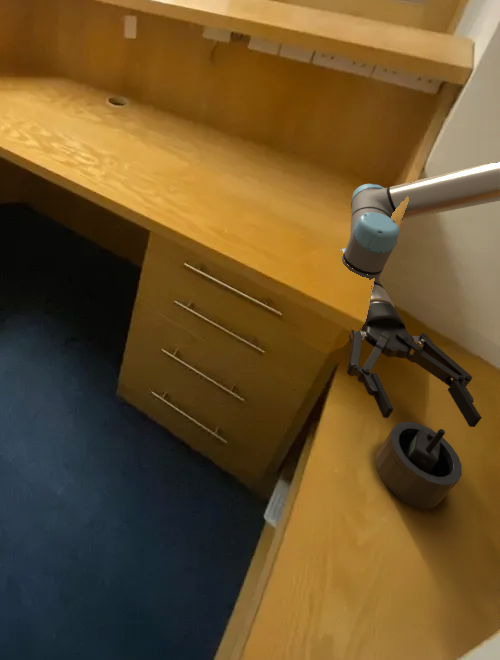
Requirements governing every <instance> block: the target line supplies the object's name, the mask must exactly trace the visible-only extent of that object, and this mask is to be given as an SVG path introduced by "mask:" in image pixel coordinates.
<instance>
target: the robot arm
mask: <svg viewBox="0 0 500 660" xmlns="http://www.w3.org/2000/svg"><path fill="white" fill-rule="evenodd" d="M489 163H490V164H486V163H483V165H482V164H479V166H478V165H473V166H471V167H470V166H469V167H466V168H462V169H459V170H454V171H450V172H445V173H442V174H437V175H434V176H430V177H424V178H421V179H417V180H414V181H415V182H413V181H411V182H412V183H408V182H404V183H401V184H397V185H392V186H388V187H383V186H382V185H379V184H375V183H365V184H362V185H360V186H358V187H356V189H354V191H353V193H352V198H351V201H350V209H351V218H350V231H349V232H350V234H349V240H348V242H347V244H346V247H344V248H341V249H342V251H343V253H344V254H343V256H342V262H343V264H344V265H345V266H346V267H347V268H348V269H349V270H350V271H352V272H354V273H356V274H358V275H360V276H362V277H366V278H369V280H371V279H373V278H375V281H374V287H373V290H372V296H371V300H370V306H369V310H368V315H367V319H366V322H365V324H364V325H363V327H362V329H361V328H360V329H359V331H358V332H356V333H355V331H354V330H352V329H351V330H350V332H349V334H348V339H349V342H350V348H349V356H348V360H347V361H348V362H347V368H346V373H347V375H349V376H350V377H354V376H355V377H357V381H358V382H359V383H361V384H363V386H364V388H365V390H366V392H367V394H368V395H369V396H370V397H371V396H372V397H373V398H374V401H375V403H376V406H377V407H378V409H379V411H380V413H381V416H382V418H384V419H389V417H391V414H392V412H393V411H394V409H395V407H394V405H393V404H392V402H391V400H390V397H389V396H388V394H387V391H386V389H385V388H384V385H383V383H382V381H381V379H380V378H379V375H378V373H377V372H371V371H372V370H373V368H374V366H375V364H377V363H376V362H377V360H378V359H379V357H380V355H381V354H382V355H383V356H386V358H393V357H394V358H398V359H406V360H407V361H409V362H410V363H415V364H417V365H418V366H420V367H421V368H422V369H423V370H425V371H427V372H428V373H430V374H431V375H432V376H434V377H435V378H437V379H438V380H440V381H441V382H442V383H444V384H445V385H447V386H448V389H447V392H448V393H449V394H450V396H451V398H452V400H453V401H454V403H455V405H456V406H457V408H458V410H459V412H460V413H461V415H462V417H463V419H464V420H465V421H466V423H467V425H468V427H470V428H475V427H476V426H477V425H478V423H479V422H480V421H481V420H482V416H481V414H480V413H479V411H478V409H477V408H476V406H475V405H474V396H473V395H472V394H471V392H470V391H469V390H468V388H467V386H469V383H470V382H471V381H472V379H473V376H472V375H471V374H470V373H469V372H468V371H466V370H465V369H464V368H463V367H462V366H461V365H460V364H458V363H457V362H456V361H455V360H454V359H453V358H451V357H450V356H449V355H448V354H447V353H446V352H445V351H443V350H442V349H441V348H439V347H438V345H436V344H435V343H434V341H432V340H431V338H430V337H429V335H428V334H427V333H425V332H421V333H420V334H419V335H412V334H410V333H409V332H408V330H407V329H406V325H405V322H404V320H403V318H402V317H401V315H400V313H399V311H398V310H397V308H396V307H395V304H394V303H393V301H392V299H391V297H390V296H389V294H388V292H387V291H386V290H385V288H384V286H383V284H382V283H381V281H380V277H381V274H382V272H383V271H384V268H385V266H386V264H387V262H388V260H389V258H390V256H391V255H392V252H393V250H394V249H395V247H396V246H397V244H398V239H399V236H400V234H401V230H400V226H399V225H398V224H397V223H396V222H395V221H394V220H392V219H391V216H392V213H393V212H394V211H395V209H396V208H397V207H398V206H399V205H400V203H401V202H402V201H404V200H405V198H406V197H407V196H408V197H409V202H408V205H407V208H406V210H405V213H404V215H403V218H402V220H401V221H405V220H409V219H414V218H420V217H424V216H425V217H426V216H429V215H430V216H431V215H435V214H439V213H444V212H445V213H446V212H450V211H455V210H460V209H465V208H470V207H476V206H480V205H486V204H489V203H496V202H500V162H498V163H491V162H489ZM344 260H345V261H344ZM347 264H348V265H349V266H348V265H347ZM352 268H353V269H352ZM367 274H368V275H367ZM371 287H372V286H371ZM371 289H372V288H371ZM364 340H365V342H367V343H368V344H369V345H371V347H373V348H372V351H371V353H370V354H369V356H368V358H367V360H366V361H365V363H364V364H363V366H361V365H360V359H361V351H362V343H364ZM412 350H413V353H412V354H411V351H412Z"/></svg>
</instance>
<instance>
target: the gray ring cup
mask: <svg viewBox="0 0 500 660" xmlns="http://www.w3.org/2000/svg"><path fill="white" fill-rule="evenodd" d="M420 430H423V431H425V432H427V433H429V432H432V433H434V434H435V435H436V433H437V432H436V431H434V430H433V429H432V428H430V427H428V426H426V425H424V424H421V423H418V422H413V421H402V422H399V423H397V424H395V425H394V427H393V428H392V429H391V431H390V432H389V434H388V435H387V436H386V438H385V440H384V442H383V443H382V444H381V446H380V448H379V449H378V451H377V452H376V455H375V467H376V471H377V474H378V476H379V477H380V479H381V481H382V482H383V484H384V485H385V487H387V489H389V491H390V492H392V494H393V495H395V496H396V497H397V498H399V499H400V500H401V501H403V502H405V503H407V504H408V505H410V506H413V507H416V508H420V509H432V508H434V507H436V506H438V505H439V504H440V503H442V501H443V500H444V498H446V497H447V495H448V494H449V493H450V492H451V491H452V489H454V487H455V486H456V484H457V483H458V482H459V481H460V479H461V477H462V475H463V467H462V462H461V459H460V457H459V456H458V453H457V452H456V451H455V449H454V448H453V447H452V445H451V444H450V443H449V442H448V441H447V440H446V438H444V436H443V437H442V438H441V439H440V451H439V460H438V461H437V463H436V464H435V465H434V467H433V468H432V469H431V470H430V472H429V473H428V474H427V473H425V472H424V471H422V470H420V469H419V468H417V467H416V466H415V465H414V464H412V463H411V462H410V461H409V460H408V458H407V457H406V456H405V454H404V451H405V450H406V449H407V447H408V446H409V444H410V443H411V441H412V440H413V438H414V437H415V436H416V434H417V433H418V431H420Z"/></svg>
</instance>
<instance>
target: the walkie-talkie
mask: <svg viewBox="0 0 500 660" xmlns="http://www.w3.org/2000/svg"><path fill="white" fill-rule="evenodd" d="M445 435H446V431H445V430H444V429H443V428H439V429H438V430H437V432H436V435H435V434H434V433H432V432H429V433H427V432H425V431H423V430H420V431H418V433H417V434H416V436H415V437H414V438H413V440H412V441H411V443H410V444H409V446H408V447H407V449H406V450H405V451H404V454H405V456H406V457H407V458H408V460H409V461H410V462H411V463H412V464H414V465H415V466H416V467H417V468H419V469H420V470H422V471H424V472H425V473H427V474H428V473H429V472H430V470H431V469H432V468H433V467H434V465H435V464H436V463H437V461H438V460H439V451H440V439H441V438H442V437H443V438H444V436H445Z"/></svg>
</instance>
